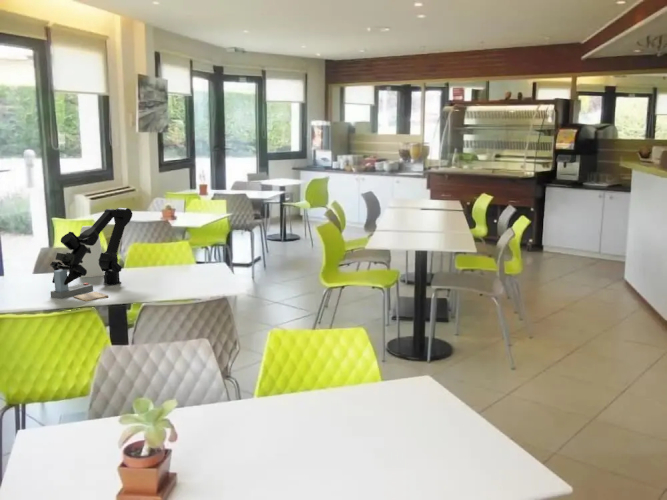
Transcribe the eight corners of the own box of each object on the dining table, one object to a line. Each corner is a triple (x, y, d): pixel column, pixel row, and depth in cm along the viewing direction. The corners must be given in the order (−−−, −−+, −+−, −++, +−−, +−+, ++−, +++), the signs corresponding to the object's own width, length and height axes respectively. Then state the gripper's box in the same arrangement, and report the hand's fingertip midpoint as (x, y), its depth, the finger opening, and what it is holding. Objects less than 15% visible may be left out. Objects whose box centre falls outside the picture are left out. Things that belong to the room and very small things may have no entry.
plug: (63, 294, 296) (61, 269, 294) (69, 295, 294) (66, 270, 292) (55, 296, 293) (53, 270, 291) (61, 297, 291) (59, 271, 289)
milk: (103, 271, 347) (100, 223, 342) (104, 275, 336) (100, 227, 331) (80, 273, 343) (76, 225, 338) (79, 277, 332) (75, 228, 327)
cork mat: (95, 293, 299) (95, 291, 299) (108, 297, 292) (108, 295, 292) (73, 298, 291) (73, 296, 291) (85, 302, 284) (85, 300, 284)
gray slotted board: (83, 289, 308) (82, 282, 307) (93, 290, 305) (92, 283, 304) (51, 297, 292) (50, 290, 292) (61, 299, 289) (60, 292, 288)
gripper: (51, 244, 297) (33, 271, 290) (79, 247, 288) (61, 276, 281) (67, 257, 305) (49, 285, 298) (94, 261, 297) (77, 289, 289)
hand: (58, 283), depth 291 cm, fingers open, 7 cm apart
